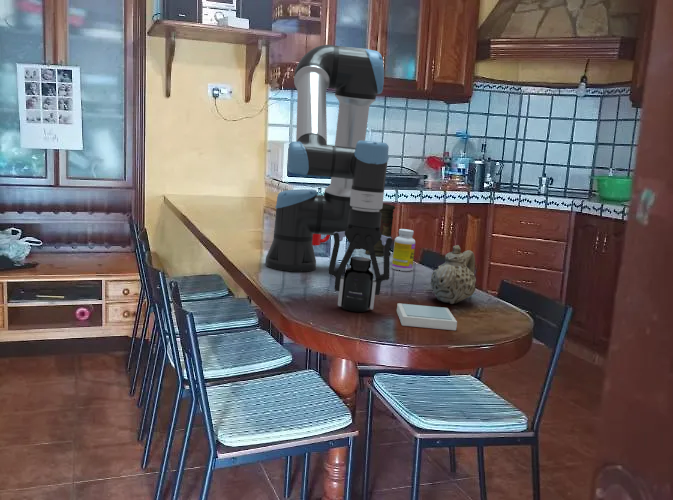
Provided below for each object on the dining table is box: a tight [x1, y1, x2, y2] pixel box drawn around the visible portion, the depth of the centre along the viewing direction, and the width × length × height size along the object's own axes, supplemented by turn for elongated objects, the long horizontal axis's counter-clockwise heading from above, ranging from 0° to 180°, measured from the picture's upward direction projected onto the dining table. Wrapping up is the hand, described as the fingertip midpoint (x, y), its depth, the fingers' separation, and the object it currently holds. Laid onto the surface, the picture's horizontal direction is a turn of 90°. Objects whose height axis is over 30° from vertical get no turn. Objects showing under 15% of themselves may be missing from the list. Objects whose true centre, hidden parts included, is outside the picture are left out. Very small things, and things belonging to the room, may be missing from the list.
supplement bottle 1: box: [340, 256, 374, 313], centre depth 153 cm, size 7×7×12 cm
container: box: [364, 203, 396, 257], centre depth 233 cm, size 9×9×18 cm
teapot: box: [430, 244, 477, 305], centre depth 171 cm, size 21×12×15 cm, turn 148°
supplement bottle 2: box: [391, 228, 416, 272], centre depth 209 cm, size 7×7×13 cm
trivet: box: [396, 302, 458, 331], centre depth 150 cm, size 12×12×2 cm
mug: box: [312, 234, 331, 246], centre depth 244 cm, size 8×12×8 cm, turn 116°
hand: (355, 306), depth 154 cm, fingers closed on supplement bottle 1, 7 cm apart
